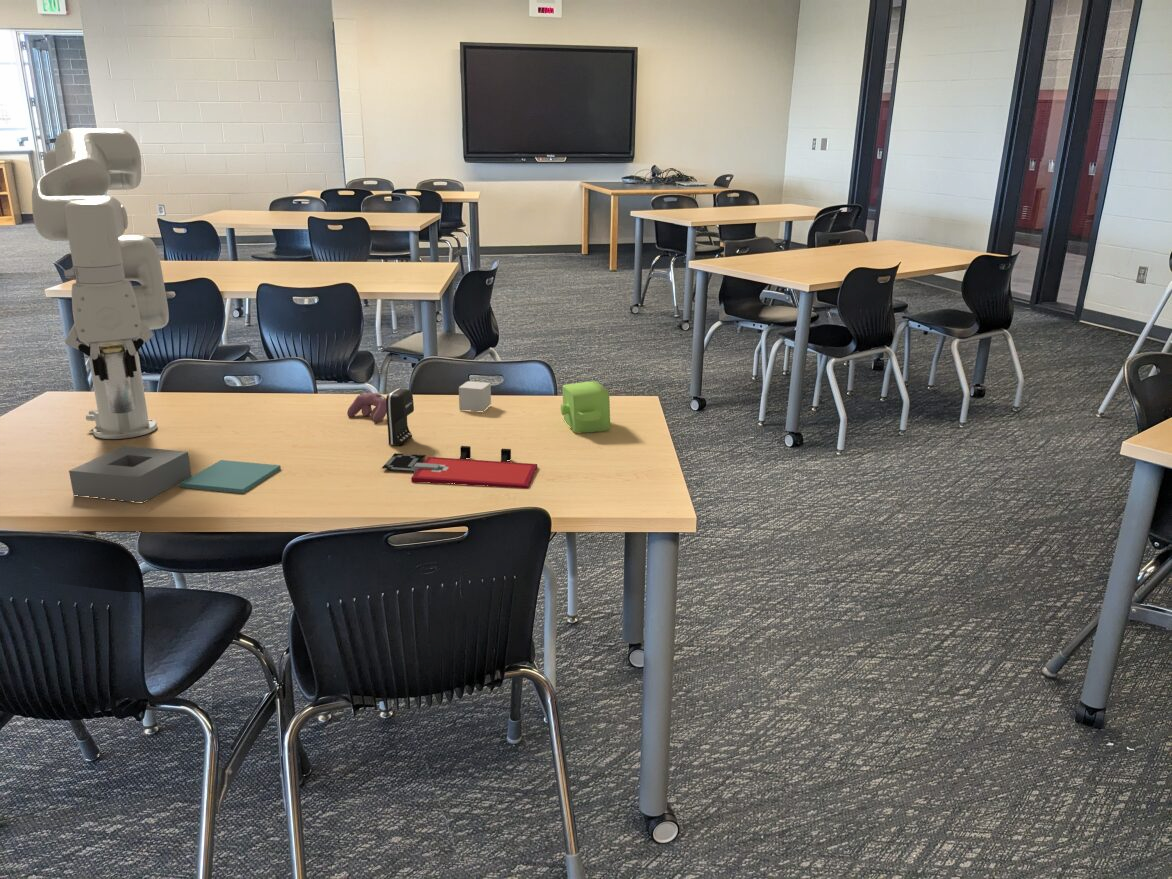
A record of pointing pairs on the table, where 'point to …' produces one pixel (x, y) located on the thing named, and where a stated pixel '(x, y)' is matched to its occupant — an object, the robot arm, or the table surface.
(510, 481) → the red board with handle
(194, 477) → the mat
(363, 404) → the video game controller
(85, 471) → the block
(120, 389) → the peg
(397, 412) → the battery charger
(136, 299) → the robot arm
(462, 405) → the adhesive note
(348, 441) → the table surface
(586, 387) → the gearbox
